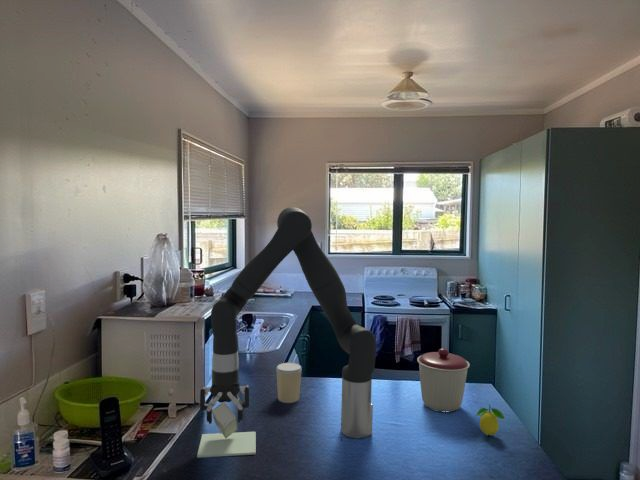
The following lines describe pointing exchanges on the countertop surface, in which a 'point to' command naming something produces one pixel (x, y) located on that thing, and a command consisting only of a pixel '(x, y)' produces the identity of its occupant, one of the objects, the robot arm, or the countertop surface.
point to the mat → (227, 444)
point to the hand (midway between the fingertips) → (224, 421)
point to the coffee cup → (288, 382)
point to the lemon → (489, 420)
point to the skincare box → (224, 419)
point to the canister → (442, 379)
